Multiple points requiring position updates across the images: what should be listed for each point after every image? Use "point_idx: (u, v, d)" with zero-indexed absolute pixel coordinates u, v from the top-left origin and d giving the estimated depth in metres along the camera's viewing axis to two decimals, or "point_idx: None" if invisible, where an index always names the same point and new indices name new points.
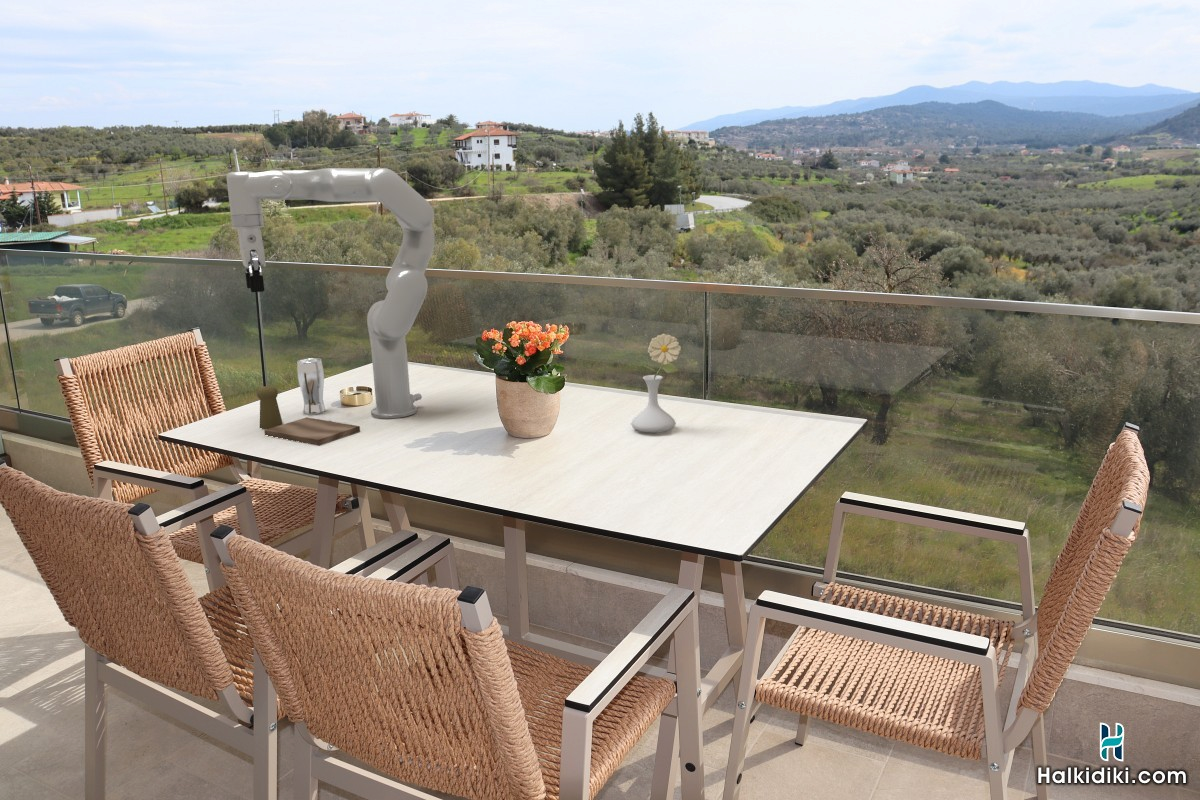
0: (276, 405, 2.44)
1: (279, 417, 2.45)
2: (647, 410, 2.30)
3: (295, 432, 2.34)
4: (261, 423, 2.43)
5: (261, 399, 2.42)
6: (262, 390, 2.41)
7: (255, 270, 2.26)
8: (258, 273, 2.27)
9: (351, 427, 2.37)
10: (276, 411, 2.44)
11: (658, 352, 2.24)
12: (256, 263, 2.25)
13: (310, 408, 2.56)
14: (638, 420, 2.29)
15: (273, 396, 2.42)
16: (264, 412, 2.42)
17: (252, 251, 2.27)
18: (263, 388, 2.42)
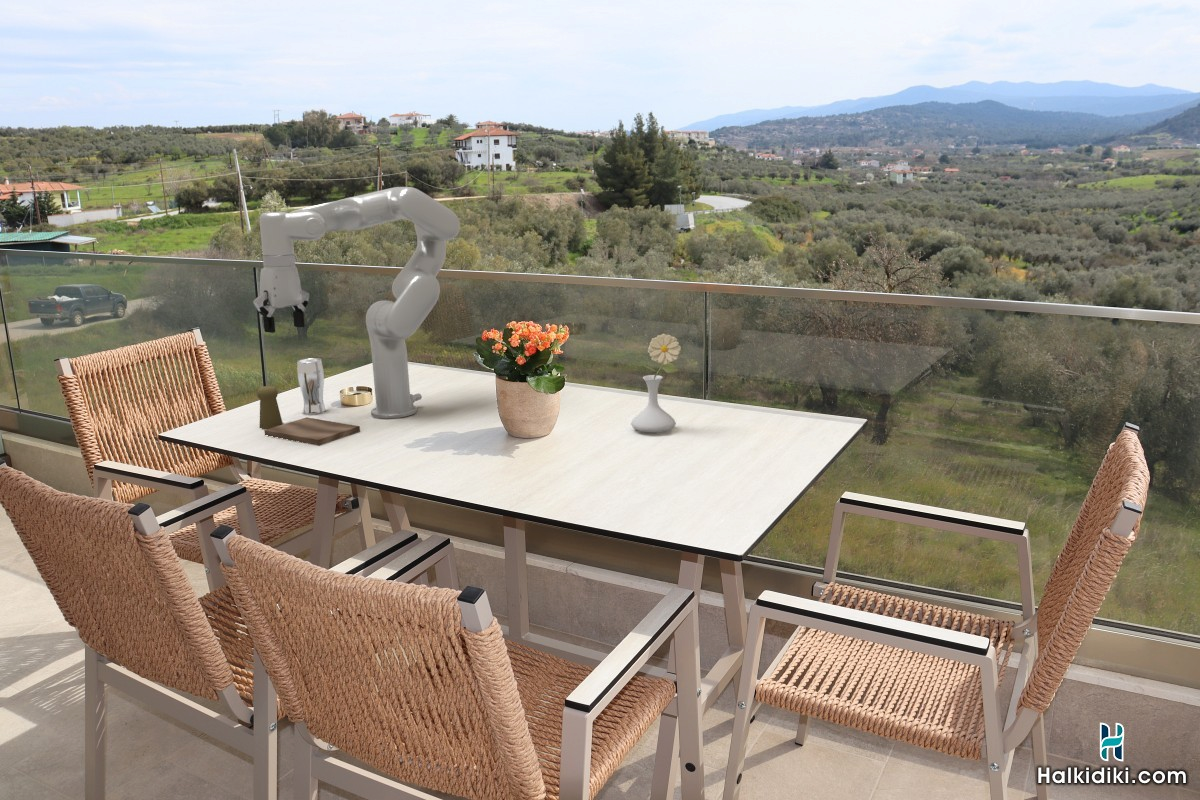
0: (276, 405, 2.44)
1: (279, 417, 2.45)
2: (647, 410, 2.30)
3: (295, 432, 2.34)
4: (261, 423, 2.43)
5: (261, 399, 2.42)
6: (262, 390, 2.41)
7: None
8: None
9: (351, 427, 2.37)
10: (276, 411, 2.44)
11: (658, 352, 2.24)
12: None
13: (310, 408, 2.56)
14: (638, 420, 2.29)
15: (273, 396, 2.42)
16: (264, 412, 2.42)
17: None
18: (263, 388, 2.42)
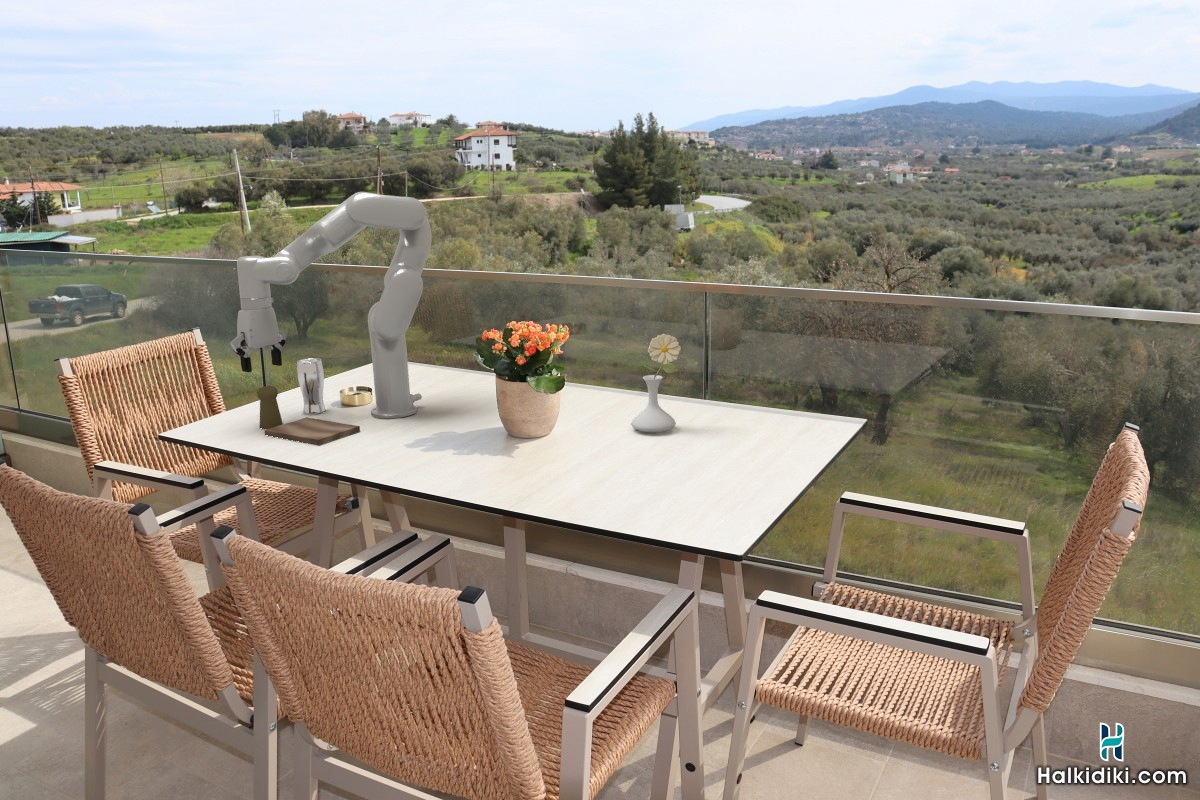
0: (276, 405, 2.44)
1: (279, 417, 2.45)
2: (647, 410, 2.30)
3: (295, 432, 2.34)
4: (261, 423, 2.43)
5: (261, 399, 2.42)
6: (262, 390, 2.41)
7: None
8: None
9: (351, 427, 2.37)
10: (276, 411, 2.44)
11: (658, 352, 2.24)
12: None
13: (310, 408, 2.56)
14: (638, 420, 2.29)
15: (273, 396, 2.42)
16: (264, 412, 2.42)
17: None
18: (263, 388, 2.42)
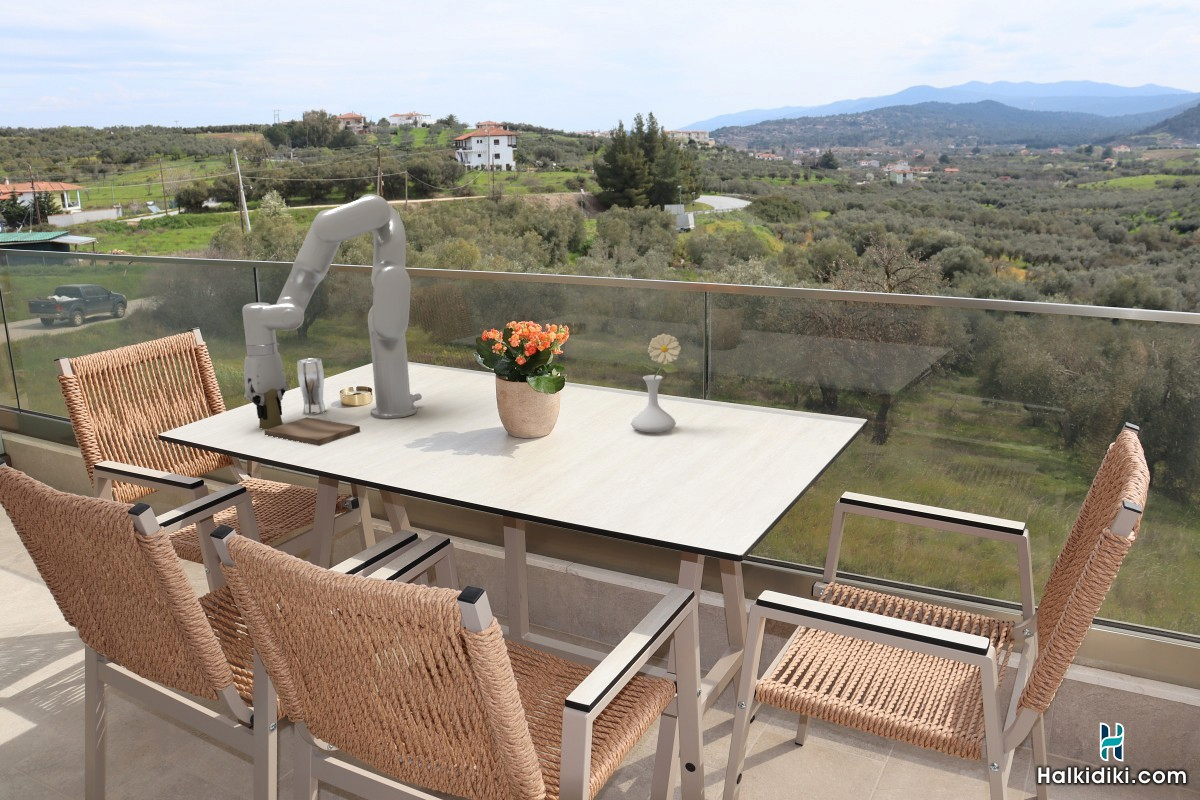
0: (276, 405, 2.44)
1: (279, 417, 2.45)
2: (647, 410, 2.30)
3: (295, 432, 2.34)
4: (261, 423, 2.43)
5: None
6: None
7: None
8: None
9: (351, 427, 2.37)
10: (276, 411, 2.44)
11: (658, 352, 2.24)
12: None
13: (310, 408, 2.56)
14: (638, 420, 2.29)
15: (273, 396, 2.42)
16: None
17: None
18: None
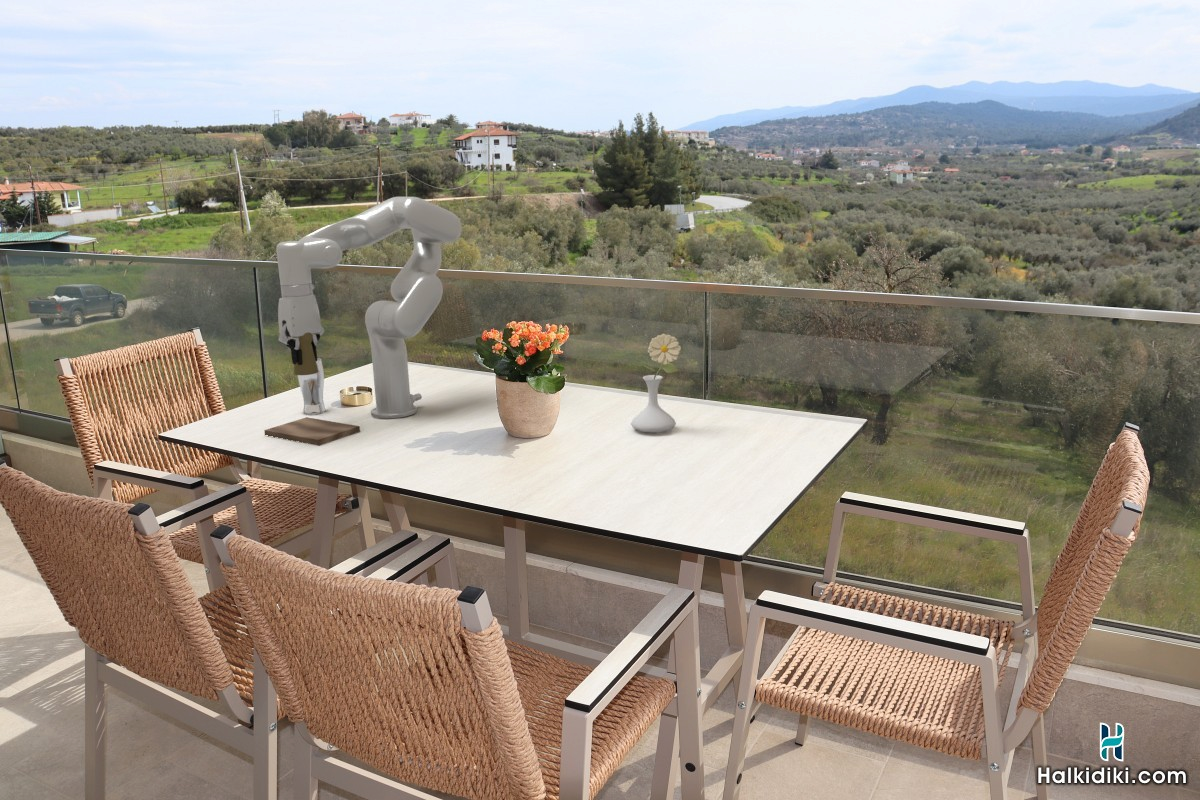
0: (311, 350, 2.32)
1: (314, 363, 2.33)
2: (647, 410, 2.30)
3: (295, 432, 2.34)
4: (296, 369, 2.31)
5: None
6: None
7: None
8: None
9: (351, 427, 2.37)
10: (311, 356, 2.32)
11: (658, 352, 2.24)
12: None
13: (310, 408, 2.56)
14: (638, 420, 2.29)
15: (308, 340, 2.30)
16: None
17: None
18: None
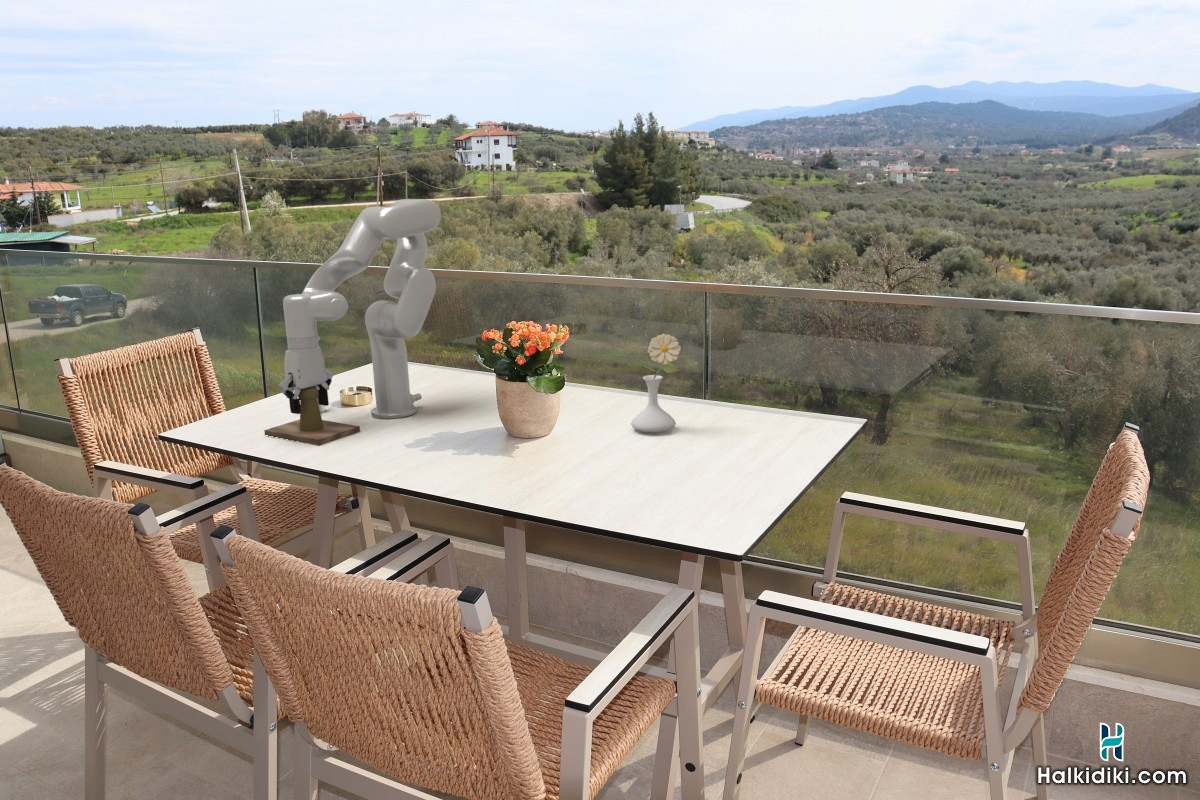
0: (317, 406, 2.35)
1: (320, 419, 2.36)
2: (647, 410, 2.30)
3: (295, 432, 2.34)
4: (301, 425, 2.35)
5: (302, 400, 2.33)
6: (303, 391, 2.32)
7: None
8: None
9: (351, 427, 2.37)
10: (317, 412, 2.35)
11: (658, 352, 2.24)
12: None
13: None
14: (638, 420, 2.29)
15: (314, 397, 2.34)
16: (305, 414, 2.34)
17: None
18: None
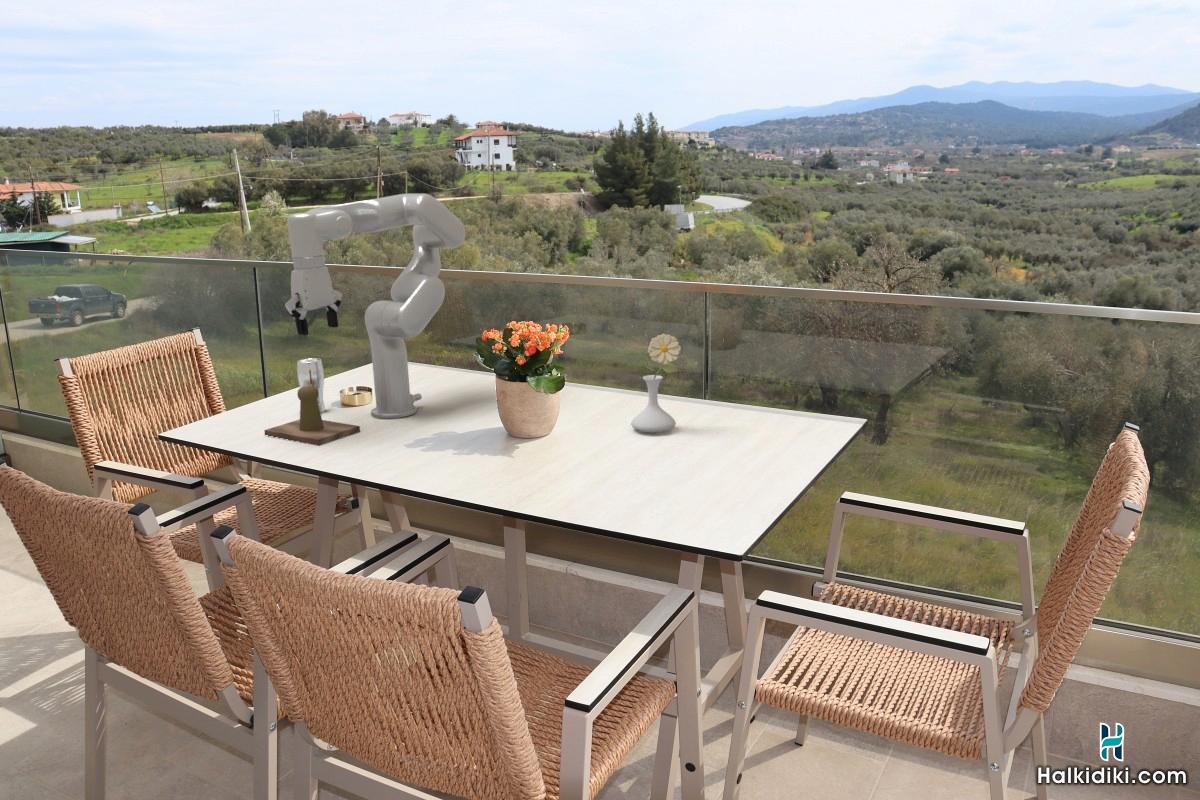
0: (317, 406, 2.35)
1: (320, 419, 2.36)
2: (647, 410, 2.30)
3: (295, 432, 2.34)
4: (301, 425, 2.35)
5: (302, 400, 2.33)
6: (303, 391, 2.32)
7: None
8: None
9: (351, 427, 2.37)
10: (317, 412, 2.35)
11: (658, 352, 2.24)
12: None
13: None
14: (638, 420, 2.29)
15: (314, 397, 2.34)
16: (305, 414, 2.34)
17: None
18: (304, 388, 2.33)
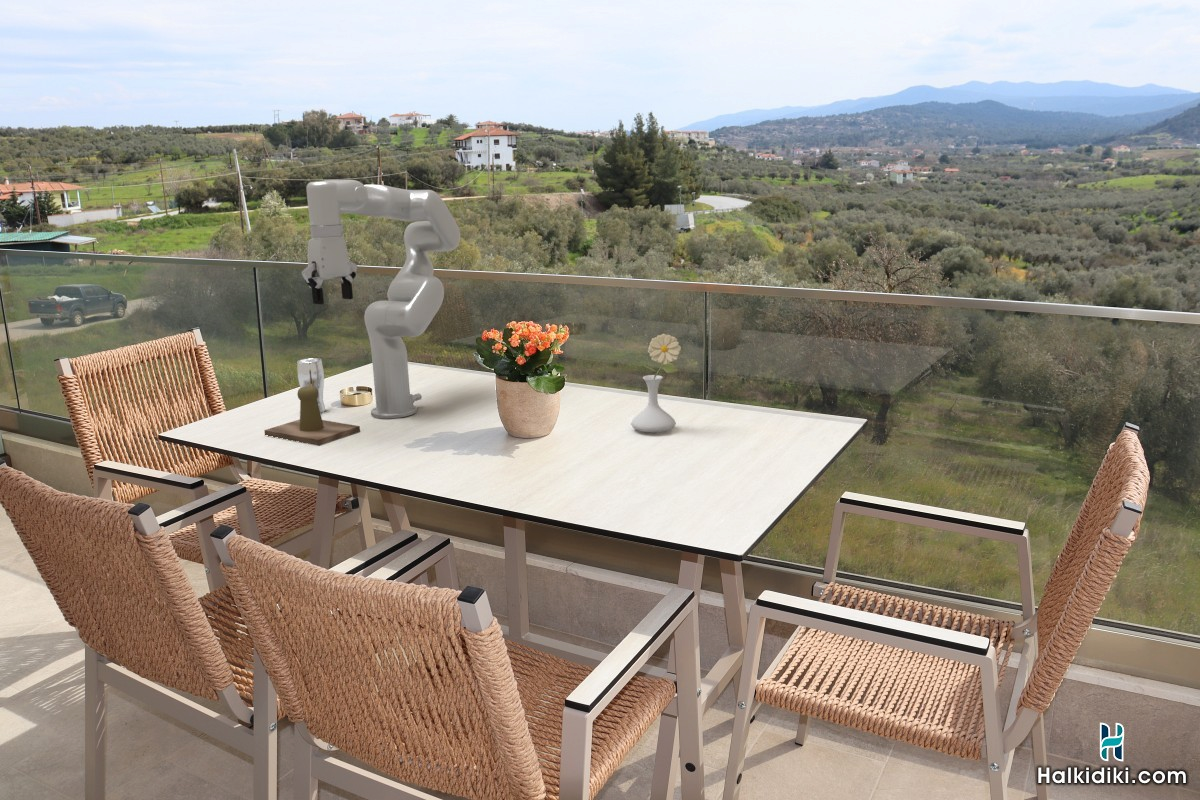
0: (317, 406, 2.35)
1: (320, 419, 2.36)
2: (647, 410, 2.30)
3: (295, 432, 2.34)
4: (301, 425, 2.35)
5: (302, 400, 2.33)
6: (303, 391, 2.32)
7: None
8: None
9: (351, 427, 2.37)
10: (317, 412, 2.35)
11: (658, 352, 2.24)
12: None
13: None
14: (638, 420, 2.29)
15: (314, 397, 2.34)
16: (305, 414, 2.34)
17: None
18: (304, 388, 2.33)
